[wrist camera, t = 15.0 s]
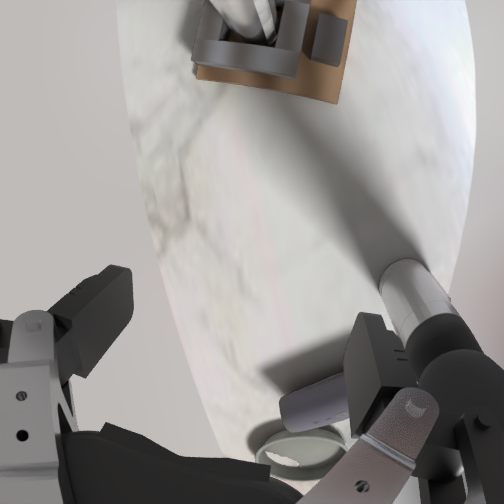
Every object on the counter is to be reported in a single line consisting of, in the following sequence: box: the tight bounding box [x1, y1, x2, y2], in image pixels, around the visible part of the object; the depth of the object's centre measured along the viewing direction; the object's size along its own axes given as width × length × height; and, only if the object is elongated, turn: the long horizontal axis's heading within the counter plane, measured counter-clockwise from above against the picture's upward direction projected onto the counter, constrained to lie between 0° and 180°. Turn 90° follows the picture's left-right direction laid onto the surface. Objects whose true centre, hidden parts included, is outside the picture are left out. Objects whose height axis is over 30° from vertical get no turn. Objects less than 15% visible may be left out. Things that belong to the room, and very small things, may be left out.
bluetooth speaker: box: [279, 372, 349, 433], centre depth 56 cm, size 23×9×10 cm, turn 122°
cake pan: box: [255, 428, 349, 482], centre depth 70 cm, size 25×25×4 cm
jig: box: [191, 0, 357, 104], centre depth 37 cm, size 21×18×6 cm
